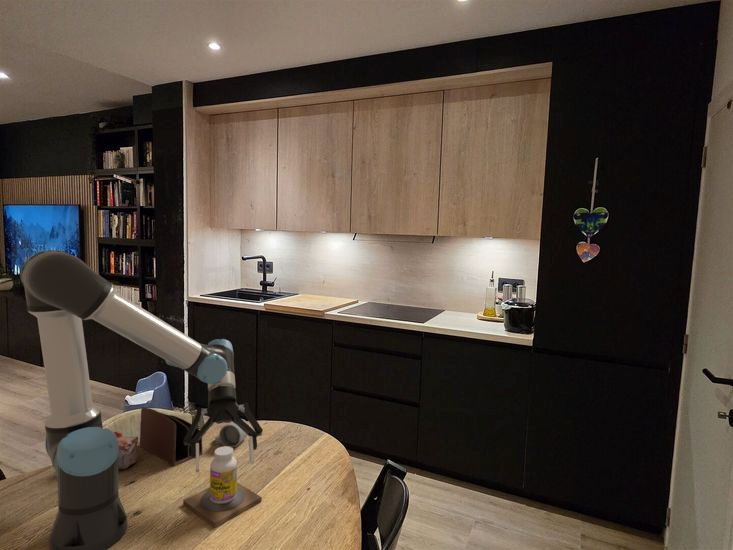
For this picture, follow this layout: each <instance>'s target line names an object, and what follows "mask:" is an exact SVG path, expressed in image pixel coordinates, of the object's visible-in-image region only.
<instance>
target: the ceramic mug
mask: <svg viewBox="0 0 733 550" xmlns="http://www.w3.org/2000/svg"><path fill="white" fill-rule="evenodd" d="M241 419H242V420H243V421H244V422H245V423H246V424H248V425H249V422H248V421H246V420H245V419H243V418H241ZM247 437H248V435H247V434H246V433H245V432H244V431H243V430H242V429H241V428H240V427H239V426H238V425H237V424H235V423H233V422H232V421H230V422H229V423H226V424H225V425H223V426H222V427H221V429H220V431H219V433H218V435H216V436H214V439H215V442H216V443H219V442H220V443H221V444H222V445H223V447H224V446H228V447H231V448H233V449H234V448H236V447H238V446H239V445H240V444H241V442H243V441H244V439H246V438H247Z"/></svg>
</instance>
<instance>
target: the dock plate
mask: <svg viewBox="0 0 733 550" xmlns="http://www.w3.org/2000/svg"><path fill="white" fill-rule="evenodd" d="M262 498H263V497H262V496H261V495H259V494H257V493H255V492H254V491H252V490H251V489H249V488H247V487H246V486H243V485H242V484H240V483H239V482H237V492H236V496H235V498H234V499H233V500H232V501H230V502H228V503H224V504H217V503H214V502H212V501H211V499H210V486H209V487H208V488H205V489H203V490H202V491H200V492H196V493H194V494H193V495H191V496H189V497H187V498H184V499H183V500H182V501H183V502H182V504H183V506H184V507H186V508H188V509H189V510H190V511H191V512H193V513H195V514H196V515H197V516H198V517H200V518H201V519H202V520H204V521H205V522H207V523H208V524H210V525H211V526H212V527H214V528H215V529H216V528H218V527H219V526H220V525H222V524H225V523H226V522H228V521H230V520H232V519H233V518H234V517H237V516H238V515H240V514H242V513H244V512H245V511H247V510H249V509H251V508H253V507H254V506H256V505H257V504H260V503H261V502H262V501H263V500H262Z"/></svg>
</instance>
